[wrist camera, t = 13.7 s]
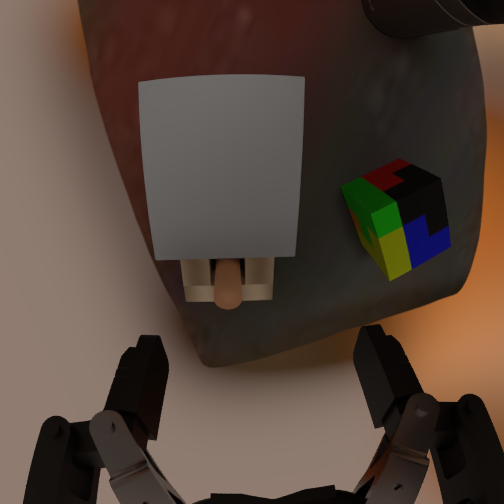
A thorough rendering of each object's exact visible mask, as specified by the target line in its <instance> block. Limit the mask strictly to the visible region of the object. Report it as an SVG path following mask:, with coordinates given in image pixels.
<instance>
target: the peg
mask: <svg viewBox="0 0 504 504" xmlns="http://www.w3.org/2000/svg"><path fill="white" fill-rule="evenodd" d="M214 302H215V304H216V305H217V306H218V307H220V308H222V309H234V308H236V307H238V306H239V305H240V304H241V302H242V288H241V272H240V258H223V259H216V271H215V285H214Z"/></svg>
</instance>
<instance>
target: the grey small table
mask: <svg viewBox="0 0 504 504" xmlns="http://www.w3.org/2000/svg"><path fill="white" fill-rule="evenodd" d="M304 88H305V77H297V76H282V75H254V74H231V75H204V76H189V77H177V78H167V79H158V80H151V81H143V82H139V113H140V132H141V146H142V159H143V170H144V180H145V189H146V198H147V206H148V213H149V221H150V228H151V235H152V241H153V247H154V253H155V259H156V260H184V259H223V258H260V257H295V250H296V238H297V225H298V212H299V198H300V182H301V165H302V145H303V121H304Z"/></svg>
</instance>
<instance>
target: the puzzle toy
mask: <svg viewBox="0 0 504 504" xmlns="http://www.w3.org/2000/svg"><path fill="white" fill-rule="evenodd" d="M340 188H341V190H342V193H343V195H344V198H345V200H346V203H347V206H348V208H349V211H350V213H351V216H352V219H353V222H354V224H355V227H356V230H357V233H358V236H359V238H360V241H361V244H362V246H363V247H364V248H365V249H366V251H367V252H368V253H369V254H370V256H371V257H372V258H373V259H374V261H375V262H376V263H377V265H378V266H379V267H380V269H381V270H382V271H383V272H384V274H385V275H386V276H387V278H388V279H389V280H390V281H391V280H393V279H395V278H397V277H399V276H400V275H402V274H404V273H406V272H408V271H410V270H411V269H413V268H415V267H417V266H418V265H420V264H422V263H424V262H425V261H427V260H429V259H431V258H432V257H434V256H436V255H437V254H439V253H441V252H442V251H444V250H446V249H447V248H449V247H451V243H450V234H449V226H448V218H447V211H446V205H445V199H444V193H443V188H442V182H441V178H439V177H437V176H435V175H433V174H431V173H429V172H427V171H425V170H423V169H421V168H419V167H417V166H415V165H412V164H410V163H408V162H406V161H404V160H401V159H397V160H395V161H393V162H391V163H389V164H387V165H385V166H382V167H380V168H378V169H376V170H374V171H372V172H370V173H368V174H366V175H364V176H361V177H359V178H357V179H355V180H353V181H351V182H349V183H347V184H345V185H343V186H341V187H340Z"/></svg>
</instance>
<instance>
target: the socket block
mask: <svg viewBox="0 0 504 504" xmlns="http://www.w3.org/2000/svg"><path fill="white" fill-rule="evenodd" d="M180 262H181V270H182V277H183V284H184V291H185V298H186V302H212V301H214V285H215V271H216V270H212V259H184V260H180ZM240 272H241V288H242V301H249V300H272V292H273V274H274V257H260V258H244V269H240Z"/></svg>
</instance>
